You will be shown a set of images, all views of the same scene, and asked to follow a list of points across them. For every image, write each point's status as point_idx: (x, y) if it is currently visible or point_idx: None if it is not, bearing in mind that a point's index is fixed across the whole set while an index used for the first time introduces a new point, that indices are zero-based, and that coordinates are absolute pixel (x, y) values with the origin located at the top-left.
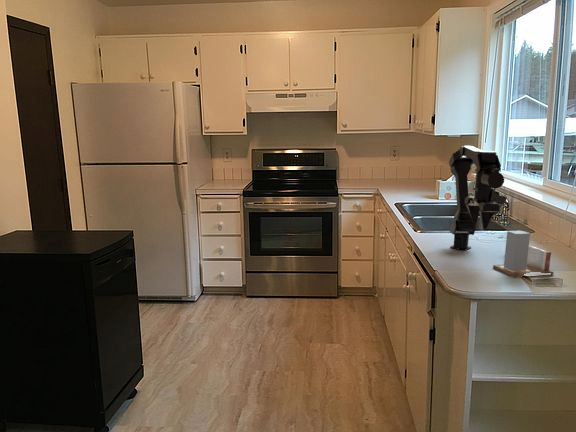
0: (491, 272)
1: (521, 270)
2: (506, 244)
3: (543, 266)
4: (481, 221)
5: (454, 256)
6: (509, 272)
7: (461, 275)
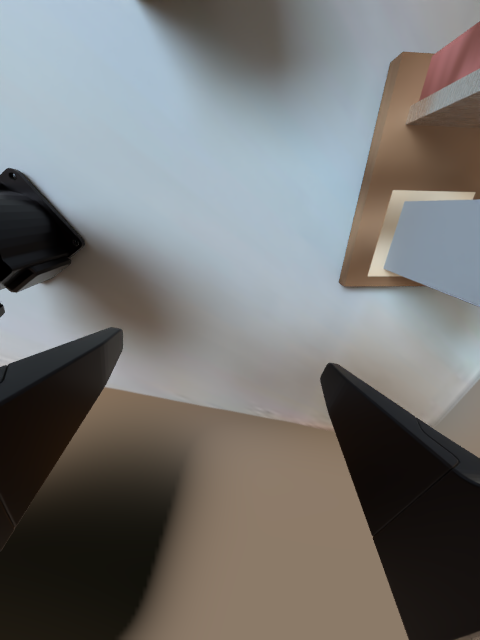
0: (368, 314)
1: None
2: (476, 303)
3: None
4: (346, 450)
5: (177, 328)
6: None
7: None
